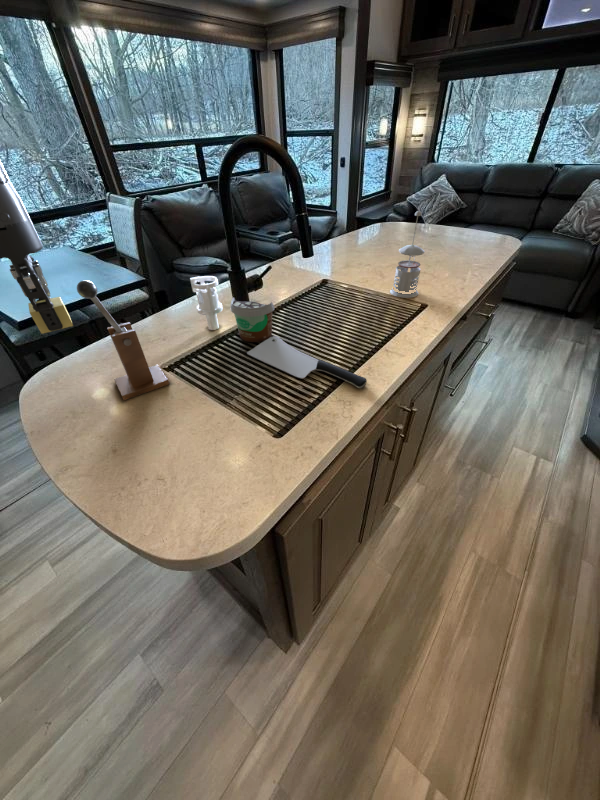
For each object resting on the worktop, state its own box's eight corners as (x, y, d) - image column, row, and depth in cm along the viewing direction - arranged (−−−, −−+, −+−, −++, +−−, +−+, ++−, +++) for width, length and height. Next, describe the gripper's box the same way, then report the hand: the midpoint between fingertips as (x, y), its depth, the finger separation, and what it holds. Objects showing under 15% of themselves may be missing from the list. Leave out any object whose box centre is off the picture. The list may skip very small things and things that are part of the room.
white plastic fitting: (198, 325, 99) (187, 274, 89) (221, 320, 101) (212, 270, 92) (205, 335, 94) (193, 282, 84) (228, 329, 96) (220, 277, 87)
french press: (387, 295, 113) (399, 213, 98) (393, 284, 122) (405, 206, 106) (416, 299, 110) (434, 214, 95) (421, 287, 119) (437, 207, 103)
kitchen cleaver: (245, 350, 85) (272, 332, 90) (247, 356, 86) (273, 337, 91) (345, 400, 69) (371, 374, 73) (345, 405, 70) (371, 380, 75)
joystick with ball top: (73, 288, 58) (91, 279, 59) (71, 283, 60) (87, 275, 61) (122, 349, 68) (137, 341, 69) (119, 343, 70) (133, 335, 71)
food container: (226, 340, 91) (220, 305, 85) (237, 330, 96) (232, 296, 89) (267, 347, 88) (264, 311, 82) (276, 336, 92) (274, 302, 86)
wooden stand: (123, 400, 71) (98, 344, 63) (115, 383, 76) (90, 328, 68) (169, 384, 76) (151, 329, 67) (159, 368, 81) (140, 315, 72)
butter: (73, 326, 60) (63, 305, 58) (41, 334, 58) (29, 312, 55) (69, 316, 63) (59, 296, 61) (39, 323, 61) (28, 303, 59)
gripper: (-29, 215, 53) (29, 315, 63) (-36, 231, 43) (33, 345, 54) (26, 209, 56) (72, 305, 67) (31, 223, 47) (83, 332, 57)
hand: (54, 323), depth 60 cm, fingers closed on butter, 5 cm apart
